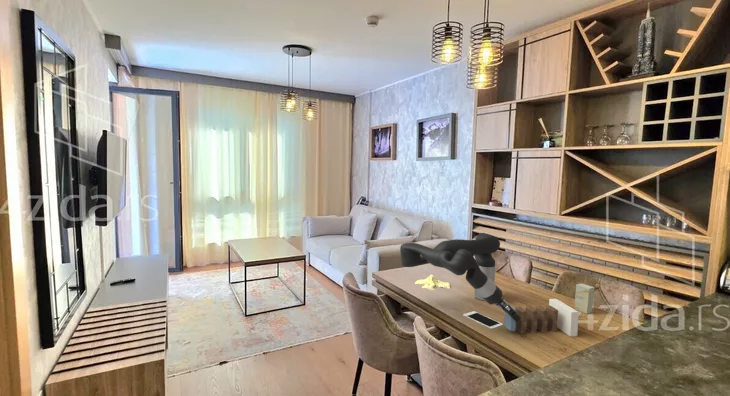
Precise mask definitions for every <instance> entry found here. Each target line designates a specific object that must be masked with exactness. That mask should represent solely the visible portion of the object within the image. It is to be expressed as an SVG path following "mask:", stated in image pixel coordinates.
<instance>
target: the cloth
mask: <svg viewBox="0 0 730 396" xmlns="http://www.w3.org/2000/svg"><path fill="white" fill-rule="evenodd" d="M414 284H415V285H420V284H422V285H421V288H422V289H425V288H426V289H427V290H430V291H435V290H436V289H435V287H439V288H444V289H451V285H450V282H447V281H442V280H437V279H436V277H435V275H434V274H430V275H429V276H427V278H425V279H424V278H423V279H418V280H416V281H415V282H414Z"/></svg>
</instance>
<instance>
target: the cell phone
mask: <svg viewBox="0 0 730 396" xmlns="http://www.w3.org/2000/svg"><path fill="white" fill-rule="evenodd" d="M462 316H463V317H466V318H468V319H470V320H472V321H474V322H476V323H478V324H480V325H482V326H484V327H487V328H489V329H490V330H494V329H496V328H498V327H501V326H504V323H502V322H500V321H497V320H495V319H493V318H491V317H488V316H487V315H484V314H482V313H479V312H477V311H475V310H474V311H473V310H472V311H469V312H467V313H466V312H465V313H463V314H462Z"/></svg>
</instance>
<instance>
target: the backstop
mask: <svg viewBox="0 0 730 396" xmlns="http://www.w3.org/2000/svg"><path fill="white" fill-rule="evenodd" d="M548 306H552V307H554V308H555V309H557V310H558V323H557V329H559V330H560V331H562V333H565V334H566V335H567V336H569V337H578V329H579V328H578V327H579V312H580V311H578V310H575V309H574V307H573V308H572V307H571V306H569V305H567V304H566V303H564V302H562V301H561V300H559V299H557V298H549V301H548Z"/></svg>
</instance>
